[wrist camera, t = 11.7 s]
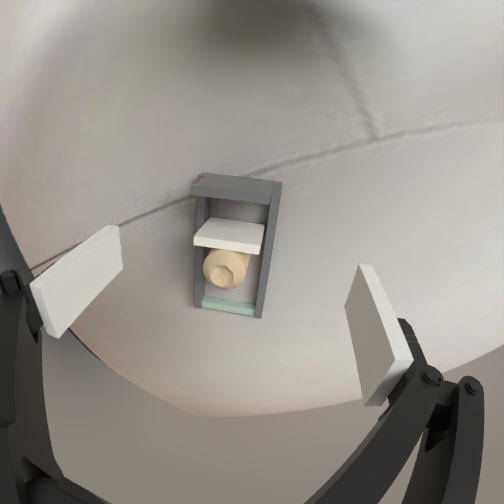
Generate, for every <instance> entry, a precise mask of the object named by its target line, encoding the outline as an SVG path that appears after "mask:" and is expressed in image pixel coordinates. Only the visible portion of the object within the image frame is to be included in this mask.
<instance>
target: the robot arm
mask: <svg viewBox="0 0 504 504" xmlns="http://www.w3.org/2000/svg"><path fill="white" fill-rule="evenodd" d="M122 269H123V264H122V256H121V246H120V236H119V226H113V225H107V226H106V227H104V228H103V229H101V230H100V231H98V232H97V233H95V234H94V235H93V236H91V237H90V238H88V239H87V240H85V241H84V242H83V243H81V244H80V245H79V246H77V247H76V248H74V249H73V250H72V251H70V252H69V253H68V254H66V255H65V256H64V257H62V258H61V259H60V260H58V261H57V262H55V263H53V264H52V265H50V266H49V267H48V268H46V270H44V271H43V272H41V274H39V275H38V276H36V277H35V278H34V279H33V280H32V281H30V282H29V283H28V284H27V285H26V286H24V285H23V282H22V279H21V275H20V272H19V271H18V270H16V269H10V270H7V271H5V272H3V273H1V274H0V290H1V293H0V504H111V503H109V502H107V501H105V500H104V499H102V498H100V497H98V496H97V495H95V494H93V493H92V492H90V491H88V490H86V489H84V488H83V487H81V486H79V485H77V484H76V483H74V482H72V481H70V480H69V479H67V478H65V477H64V475H63V473H62V471H61V469H60V467H59V466H58V464H57V463H56V461H55V458H54V455H53V451H52V447H51V441H50V435H49V430H48V424H47V417H46V409H45V401H44V390H43V376H42V333H41V330H40V327H41V326H42V325H43V324H44V326H45V329H46V331H47V333H48V334H49V335H51V336H53V337H56V338H58V339H59V338H60V336H61V335H62V334H63V333H64V332H65V330H66V329H67V328H68V327H69V326H70V325H71V324H72V323H73V321H74V320H75V319H76V318H77V317H78V316H79V315H80V314H81V312H82V311H83V310H84V309H85V308H86V307H87V306H88V305H89V304H90V303H91V301H92V300H93V299H94V298H95V297H96V296H97V295H98V294H99V293H100V292H101V291H102V290H103V289H104V288H105V287H106V286H107V285H108V284H109V282H110V281H111V280H112V279H113V278H114V277H115V276H116V275H117V274H118V273H119V272H120V271H121V270H122ZM344 307H345V311H346V316H347V320H348V324H349V329H350V333H351V338H352V343H353V347H354V352H355V357H356V363H357V368H358V373H359V379H360V384H361V390H362V396H363V402H364V406H381V405H382V404H383V403H384V401H385V400H386V399H387V398H388V400H389V407H388V408H387V409H386V410H385V411H384V413H383V414H382V415H381V416H380V417H379V419H378V422H377V423H376V425H375V426H374V427H373V428H372V430H371V431H370V432H369V434H368V435H367V436H366V438H365V439H364V440H363V441H362V443H361V444H360V445H359V446H358V448H357V449H356V450H355V451H354V452H353V454H352V455H351V456H350V457H349V458H348V459H347V460H346V462H345V463H344V464H343V465H342V466H341V467H340V468H339V469H338V470H337V472H336V473H335V474H334V475H333V476H332V477H331V478H330V479H329V480H328V481H327V482H326V483H325V484H324V485H323V486H322V487H321V488H320V489H319V490H318V491H317V492H316V493H315V494H314V495H313V496H312V497H311V498H309V499H308V500H307V501H306V502H305V503H304V504H378V502H379V501H380V500H381V498H382V497H383V496H384V494H385V493H386V492H387V490H388V489H389V487H390V486H391V484H392V483H393V481H394V480H395V479H396V477H397V476H398V474H399V472H400V471H401V469H402V468H403V466H404V464H405V463H406V461H407V459H408V458H409V456H410V454H411V453H412V451H413V449H414V447H415V446H416V444H417V442H418V440H419V438H420V436H421V434H422V432H423V435H422V439H421V443H420V448H419V451H418V455H417V459H416V462H415V466H414V469H413V472H412V476H411V479H410V482H409V484H408V487H407V491H406V493H405V496H404V499H403V501H402V504H474V503H475V498H476V493H477V488H478V483H479V476H480V469H481V461H482V451H483V437H484V391H483V387H482V385H481V384H480V382H479V381H478V380H477V379H475V378H474V377H471V376H464V377H463V378H462V379H461V380H460V381H459V383H458V384H456V383H452V382H449V381H445V380H444V379H443V376H442V374H441V373H440V371H439V370H437V369H436V368H435V367H433V366H430V365H428V364H427V361H426V359H425V357H424V354H423V352H422V349H421V347H420V345H419V343H418V340H417V338H416V336H415V334H414V331H413V329H412V327H411V326H410V325H409V323H408V322H407V321H406V320H405V319H401V318H396V315H395V313H394V311H393V308H392V306H391V304H390V302H389V300H388V298H387V295H386V293H385V291H384V289H383V287H382V285H381V283H380V281H379V279H378V277H377V275H376V273H375V271H374V269H373V267H372V266H371V265H365V264H358V268H357V271H356V274H355V277H354V280H353V283H352V286H351V289H350V292H349V295H348V298H347V301H346V303H345V306H344ZM25 481H26V482H25Z"/></svg>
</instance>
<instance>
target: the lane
mask: <svg viewBox="0 0 504 504" xmlns="http://www.w3.org/2000/svg"><path fill="white" fill-rule="evenodd" d="M281 188H282V182H275V181H268V180H261V179H253V178H245V177H237V176H228V175H218V174H208V173H202V174H200V175H199V180H198V181H197V182H195V183H193V184H192V185H191V194H190V195H194V196H197V214H196V233H197V232H198V231H199V229H200V228H201V227H202V226H203V225H204V224H205V222H206V221H207V220H208V206H209V197H212V198H221V199H229V200H237V201H244V202H252V203H259V204H266V205H269V203H270V209H269V217H268V224H267V231H266V238H265V245H264V252H263V259H262V266H261V273H260V280H259V287H258V294H257V301H256V305H253V304H247V303H240V302H234V301H228V300H222V299H217V298H211V297H205V296H204V287H205V275H204V273H203V263H204V261H205V259H206V247H204V246H197V245H195V278H194V307H196V308H202V307H206V308H211V309H217V310H222V311H228V312H234V313H240V314H246V315H252V316H254V318H260V319H261V317H262V311H263V305H264V299H265V292H266V286H267V280H268V274H269V268H270V261H271V255H272V249H273V242H274V236H275V229H276V222H277V216H278V209H279V202H280V195H281ZM271 194H272V195H271ZM270 198H271V202H270Z"/></svg>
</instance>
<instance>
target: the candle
mask: <svg viewBox="0 0 504 504" xmlns="http://www.w3.org/2000/svg"><path fill="white" fill-rule="evenodd" d="M250 257H251V254H250V253H244V252H237V251H230V250H224V249H217V248H212V249H211V251H210V252H209V254H208V256H207V257H206V259H205V261H204V263H203V273H204V275H205V277H206V279H207V280H208V282H209V283H211V284H212V285H213V286H215V287H217V288H220V289H233V288H236V287H238V286H239V285H240V284H241V283H242V282H243V280H244V278H245V275H246V272H247V268H248V265H249V261H250Z"/></svg>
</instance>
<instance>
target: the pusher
mask: <svg viewBox="0 0 504 504" xmlns="http://www.w3.org/2000/svg"><path fill="white" fill-rule="evenodd" d="M264 227H265V225H263V224H256V223H249V222H242V221H235V220H227V219H220V218H212V217H210V218H209V219H208V220H207V221H206V222H205V224H204V225H203V226H202V227H201V228H200V229H199V231H198V232H197V233H196V234H195V235H194V245H197V246H204V247H210V248H217V249H224V250H230V251H237V252H244V253H250V254H257V255H259V252H260V248H261V243H262V238H263V234H264Z"/></svg>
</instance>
